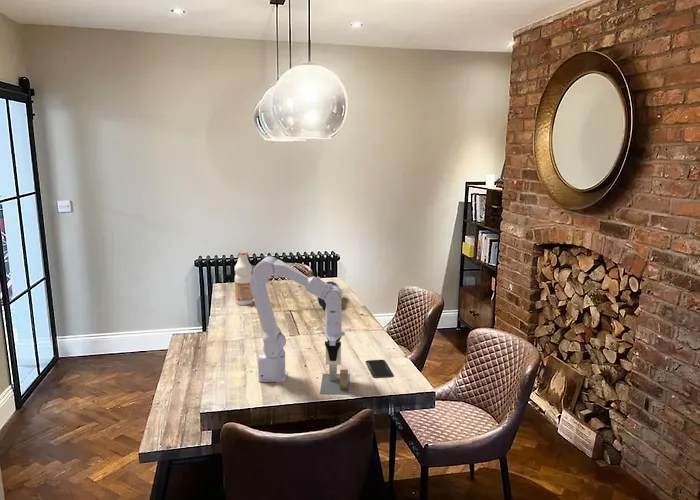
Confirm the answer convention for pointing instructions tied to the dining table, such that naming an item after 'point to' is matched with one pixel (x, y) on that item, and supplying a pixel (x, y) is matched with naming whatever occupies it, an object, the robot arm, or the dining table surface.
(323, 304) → the portable speaker
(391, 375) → the phone
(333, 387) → the base board
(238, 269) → the fruit juice
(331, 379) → the steel post
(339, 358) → the beige block
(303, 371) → the dining table surface
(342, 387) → the bronze post
